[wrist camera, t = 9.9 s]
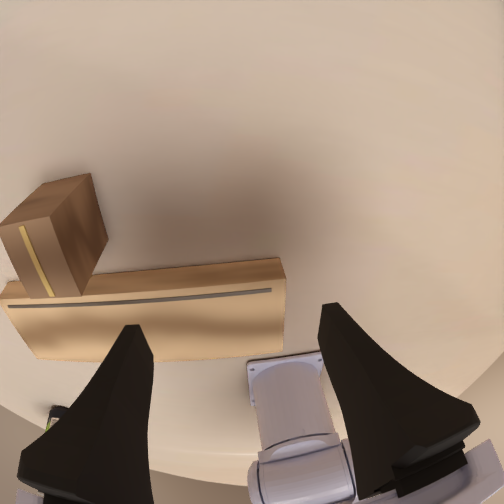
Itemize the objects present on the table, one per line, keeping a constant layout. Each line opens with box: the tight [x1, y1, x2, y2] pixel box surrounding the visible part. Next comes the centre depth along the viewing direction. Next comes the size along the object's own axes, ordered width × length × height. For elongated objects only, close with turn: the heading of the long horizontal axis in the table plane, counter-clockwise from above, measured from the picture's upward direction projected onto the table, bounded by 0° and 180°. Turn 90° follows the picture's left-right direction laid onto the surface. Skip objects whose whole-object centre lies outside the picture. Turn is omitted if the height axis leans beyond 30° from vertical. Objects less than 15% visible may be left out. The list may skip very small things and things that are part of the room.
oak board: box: [0, 258, 286, 362], centre depth 22 cm, size 8×24×2 cm, turn 92°
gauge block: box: [0, 173, 108, 299], centre depth 16 cm, size 7×4×6 cm, turn 2°
